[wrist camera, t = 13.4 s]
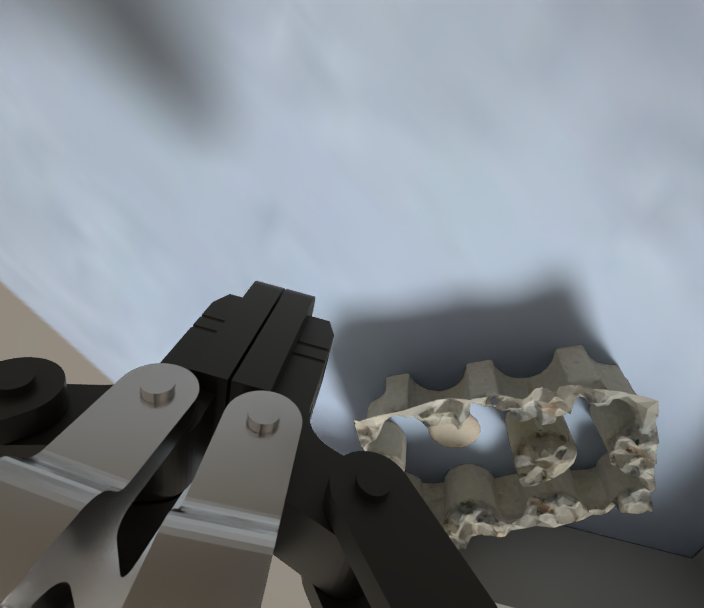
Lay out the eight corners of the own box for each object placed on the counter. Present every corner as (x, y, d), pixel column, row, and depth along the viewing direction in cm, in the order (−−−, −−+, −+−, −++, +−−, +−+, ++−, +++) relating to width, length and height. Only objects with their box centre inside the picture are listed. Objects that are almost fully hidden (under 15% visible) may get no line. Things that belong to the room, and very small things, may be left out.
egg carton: (391, 482, 22) (384, 561, 19) (355, 362, 19) (338, 430, 15) (625, 471, 20) (668, 562, 16) (629, 330, 16) (684, 403, 13)
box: (572, -186, 10) (664, -346, 6) (1369, -37, 10) (2030, -112, 6) (363, 495, 22) (350, 586, 18) (705, 583, 22) (767, 696, 18)
